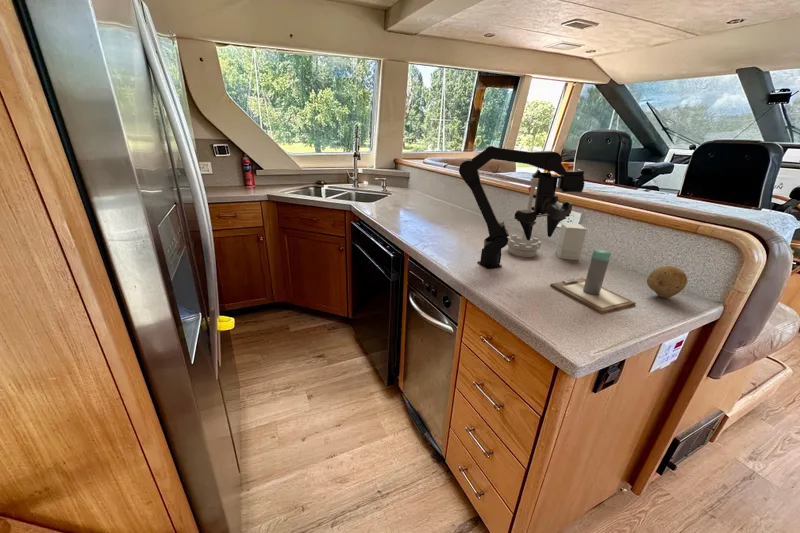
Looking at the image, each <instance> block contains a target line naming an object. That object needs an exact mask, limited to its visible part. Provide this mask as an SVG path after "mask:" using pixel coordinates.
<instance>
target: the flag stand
mask: <svg viewBox="0 0 800 533" xmlns="http://www.w3.org/2000/svg"><path fill="white" fill-rule="evenodd" d="M529 181H530V184H531V185H530V186H529V187H528V192H529V198H528V203H527V209H526V210H529V211H532V210H531V207H533V203H534V198H533V195H535V194H536V192H535V191H536V189H537V183H538V178H533V177H532V178H530V180H529ZM522 230H523V229H522ZM507 237H508V236H507ZM541 245H542V240H540V239H539V238H538V237H531V238H530V240H527V239H526V236H525V233H524V230H523V232H522V234H521V237H519V236H518V235H517V234H512V235H510V236H509V237H508V243H507V245H506V246H508V247H507V252H509V254H511V253H512V254H511V255H514V256H518V257H523V258H524V257H534V256H536V254H537V252H538V250H539V249H540V248H541Z"/></svg>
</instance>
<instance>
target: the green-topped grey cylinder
mask: <svg viewBox="0 0 800 533" xmlns="http://www.w3.org/2000/svg"><path fill="white" fill-rule="evenodd" d="M611 255H612V252H611V251H608V250H606V249H601V248H597V249H596V248H595V249H593V251H592V255H591V258H590V263H589V265H588V269H587V270H588V271H587V273H586V277H585V279H586V281H585V285H584V288H583V292H585V293H586V294H589V295H599V294H600V290H601V287H603V283H604V279H605V276H606V272H607V270H608V269H607V268H608V265H609V262H610V258H611Z"/></svg>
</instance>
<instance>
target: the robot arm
mask: <svg viewBox="0 0 800 533" xmlns="http://www.w3.org/2000/svg"><path fill="white" fill-rule="evenodd" d="M492 160H497V161H504V162H511V163H516V164H517V163H518V164H526V165H529V166H532V167H535V168H538V169H537V170H536V171H535V173H532V175H531V177H532V178H538V183H537V184H536V190H535V191H536V192H535V193H534V195H533V199H535V200H534V206H532V207H531V211H529V210H527V209H520V210H519V209H518V210H516V212H515V213H514V220H516V221H517V222H519V223H520V225H521V227H522V230H524V233H525V236H526V239H527V240H530V239H532V234H533V229H534V228H533V227H534V225H536V224H537V221H536V220H537V218H540V217H546V229H547V231H546V232H547V237H549V238H551V237H552V236H553V234H554V232H555V231H556V228H557V227H558V225H559V224H560V222H563V221H564V220H566V219H567V218H568V217H570V216H571V215H570V214H572V210H573V203H572V202H570V201H567V202H559V197H558V195H556V191H557V190H560V192H561V193H563V194H564V193H567V194H568V193H569V194H570V193H571V194H572V193H573V194H574V193H575V194H581V193H582V192H583V191H584V187H585V175H584V174H585V171H584V170H581V169H580V170H566V168H565V167H564V166H563V164H562V163H563V158H562V156H561V154H560V153H559V152H556V151H553V150H541V151H538V150H537V151H526V150H518V149H513V148H512V149H511V148H504V147H497V146H494V145H488V146H487V147H485V149H484V150H483V151H481V152H480V153H478V154H477V155H475V156H474V157H473V158H472V159H471V158H469V159H465V160H463V161H462V163H461V164H460V165H459V168H458V173H459V175H460V177H461V178H462V179H463V181H464V182H465V184H466V185H467V187H469V189H470V191H471V192H472V195H473V197H474V199H475V201H476V204H477V206H478V209H479V210H480V213H481V215H482V217H483V219H484V222H485V224H486V227H487V231H488V236H487V237H486V238H484V240H483V248H481V254H480V260H478V261H477V262H476V263H477V264H478V265H480V266H482V267H483V268H485V269H487V270H491V269H497V268H502V267H503V265H502V264H501V260H502V249H504V248H505V247H506V246H508V245H507V243H508V237H510V233H509V230H508V229H507V228H506V225H505V221H502V222H500V221H499V220H498V219H497V216H496V214H495V211H494V209H493V208H492V204H491V202H490V201H489V199H488V196H487V194H486V192H485V189H484V187H483V184H482V182H481V177H480V172H479V170H480V169H481V168H482V167H483V166H485V165H486V164H487V163H489V162H490V161H492ZM540 170H544V171H547V172H541V171H540ZM552 172H554V173H555V174H557V175H552Z"/></svg>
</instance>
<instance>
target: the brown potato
mask: <svg viewBox="0 0 800 533" xmlns="http://www.w3.org/2000/svg"><path fill="white" fill-rule="evenodd" d="M646 284H647V286H648V287H649V289H651V290H652V291H653V292H655V294H656V295H657V296H659V297H661V298H663V299H666V298H671V297H674V296H675V295H678V294H680V292H681V291H682V290H684V289H685V287H686V286H687V284H688V277H687V274H686V273H685V271H683V270H682V269H681V268H679V267H676V266H673V265H665V266H664V265H663V266H659V267H657V268H655V269H653V270H652V271H651V272H650V273H649V275H648V276H647V278H646Z"/></svg>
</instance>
